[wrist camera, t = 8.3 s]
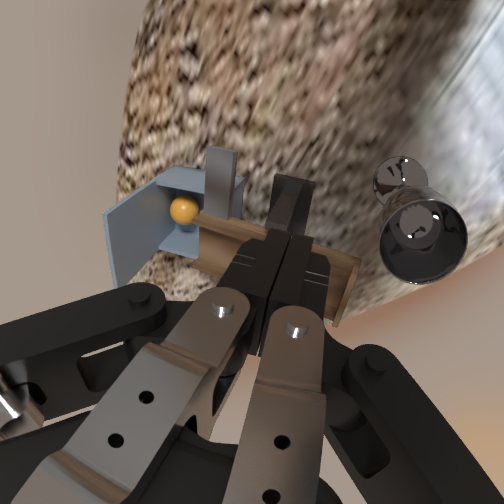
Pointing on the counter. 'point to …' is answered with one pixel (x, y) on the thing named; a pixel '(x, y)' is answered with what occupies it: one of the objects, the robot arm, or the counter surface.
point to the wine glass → (416, 224)
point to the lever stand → (289, 204)
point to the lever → (253, 233)
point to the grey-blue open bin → (156, 221)
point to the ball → (184, 209)
